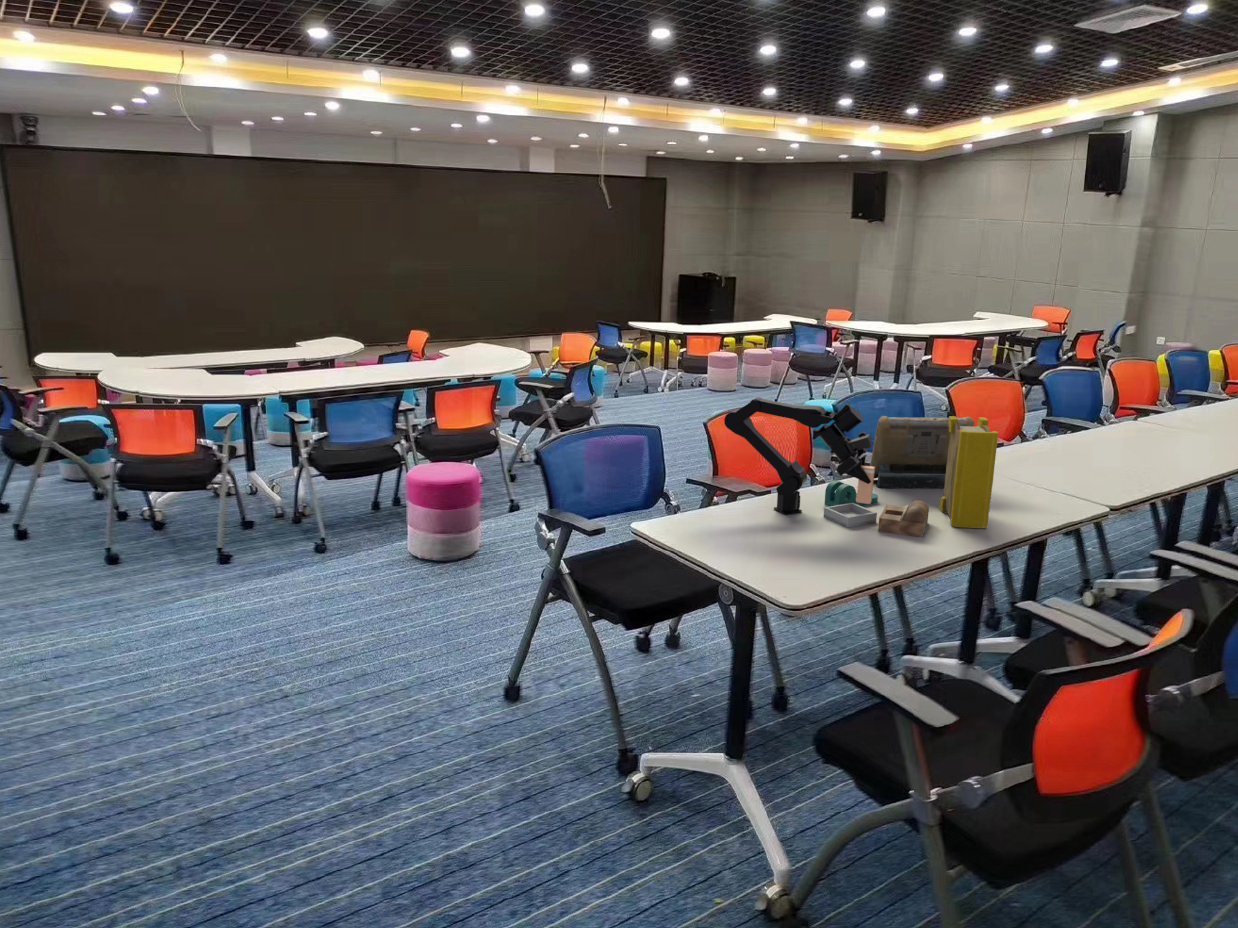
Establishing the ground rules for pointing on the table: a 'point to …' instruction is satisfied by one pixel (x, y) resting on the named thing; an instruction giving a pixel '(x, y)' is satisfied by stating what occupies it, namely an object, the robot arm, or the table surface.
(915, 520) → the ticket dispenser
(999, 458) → the table surface
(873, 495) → the bracket
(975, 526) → the decorative book
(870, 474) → the peach block
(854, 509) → the tray
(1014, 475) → the table surface
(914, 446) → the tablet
